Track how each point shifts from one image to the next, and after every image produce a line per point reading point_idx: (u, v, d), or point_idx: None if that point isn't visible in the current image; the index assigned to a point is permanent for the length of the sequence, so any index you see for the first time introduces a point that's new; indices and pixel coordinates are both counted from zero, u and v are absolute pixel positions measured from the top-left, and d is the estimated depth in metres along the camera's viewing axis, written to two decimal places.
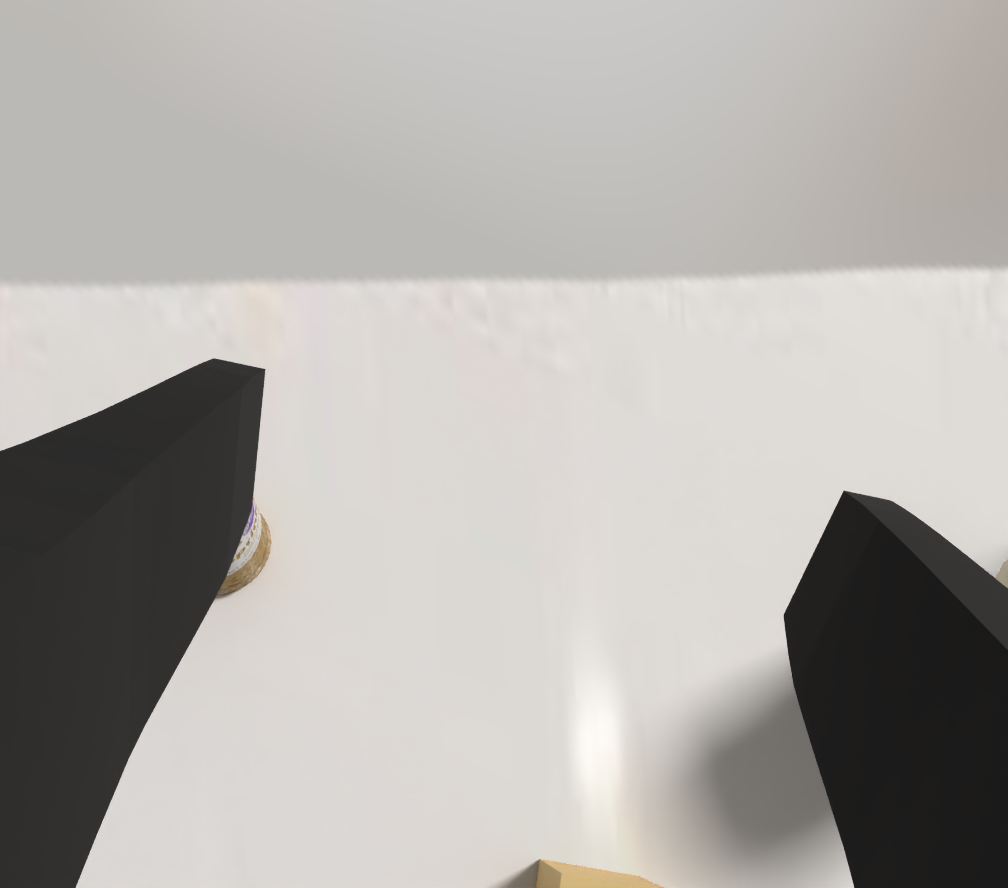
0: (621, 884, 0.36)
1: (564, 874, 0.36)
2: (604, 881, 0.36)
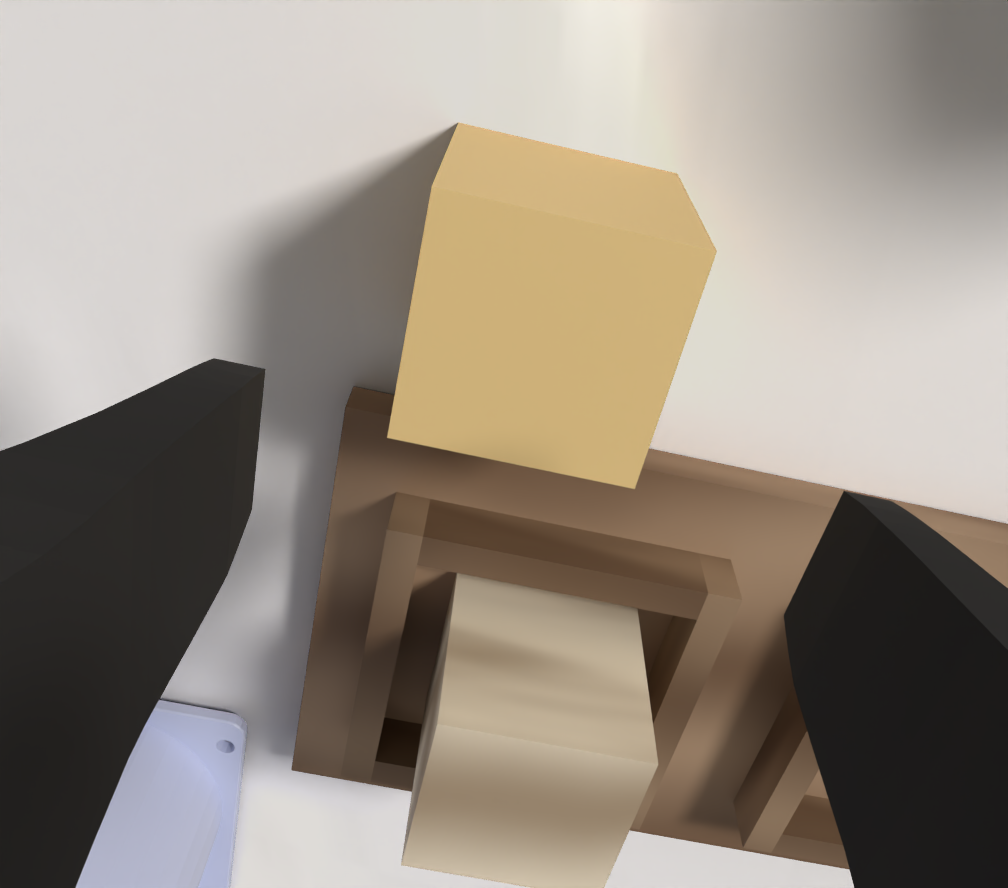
0: (583, 222, 0.14)
1: (439, 188, 0.14)
2: (541, 212, 0.14)
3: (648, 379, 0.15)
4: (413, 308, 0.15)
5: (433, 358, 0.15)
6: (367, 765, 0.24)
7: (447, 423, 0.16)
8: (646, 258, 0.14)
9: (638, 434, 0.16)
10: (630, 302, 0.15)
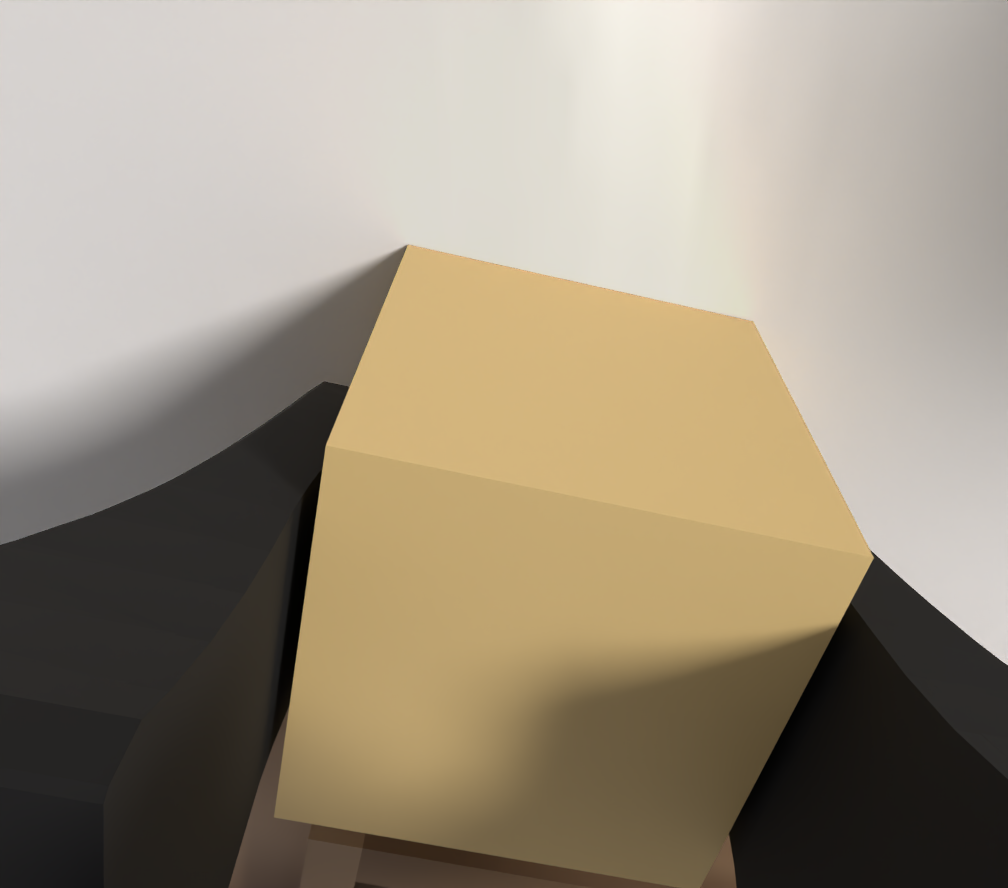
0: (621, 506, 0.07)
1: (342, 446, 0.07)
2: (539, 488, 0.07)
3: (731, 746, 0.09)
4: (305, 635, 0.08)
5: (348, 710, 0.09)
6: None
7: (376, 800, 0.09)
8: (739, 566, 0.08)
9: (708, 820, 0.09)
10: (704, 634, 0.08)
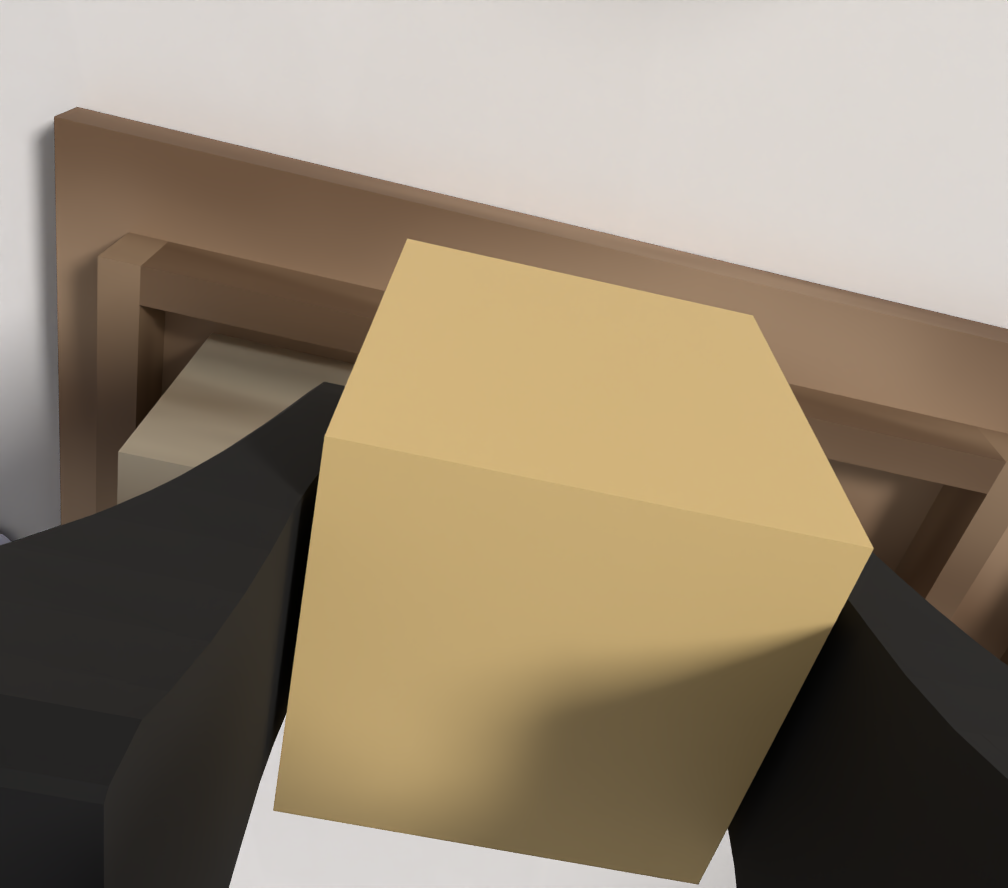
0: (620, 497, 0.07)
1: (341, 438, 0.07)
2: (538, 479, 0.07)
3: (730, 738, 0.09)
4: (304, 628, 0.08)
5: (346, 703, 0.09)
6: None
7: (376, 793, 0.09)
8: (738, 558, 0.08)
9: (708, 813, 0.09)
10: (702, 626, 0.08)
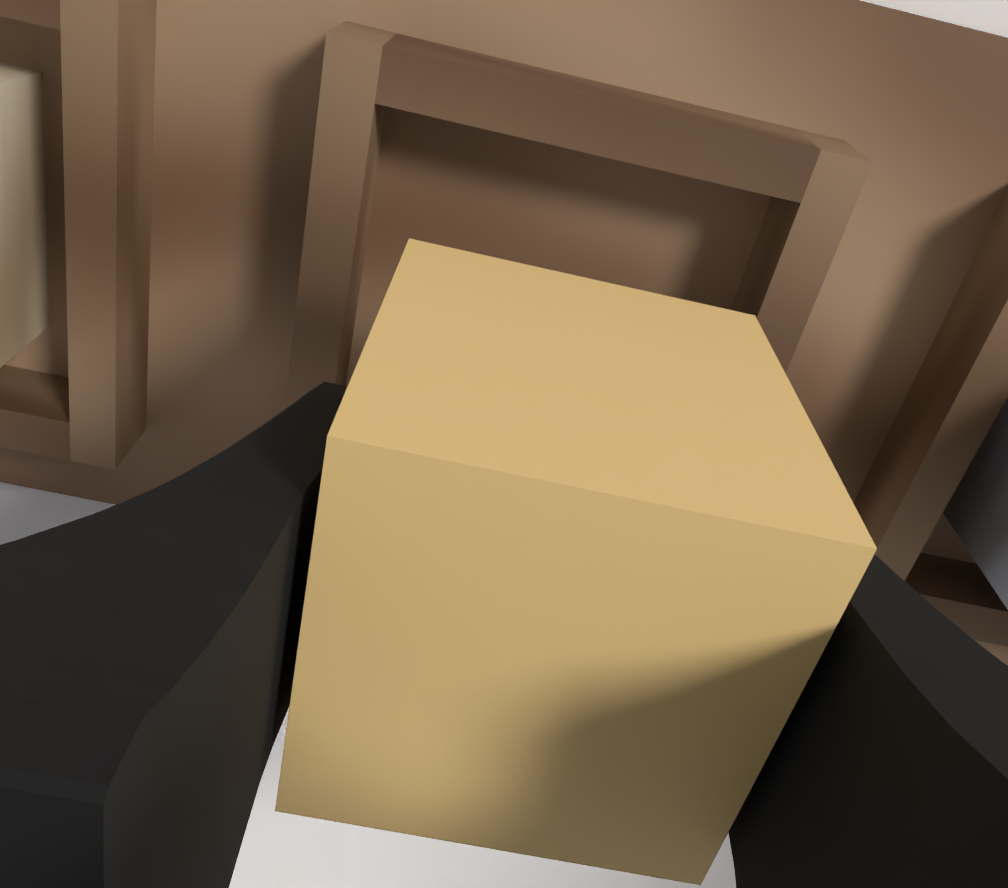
0: (623, 497, 0.07)
1: (343, 437, 0.07)
2: (541, 479, 0.07)
3: (733, 738, 0.09)
4: (306, 628, 0.08)
5: (348, 702, 0.09)
6: None
7: (377, 793, 0.09)
8: (742, 557, 0.08)
9: (711, 813, 0.09)
10: (705, 627, 0.08)
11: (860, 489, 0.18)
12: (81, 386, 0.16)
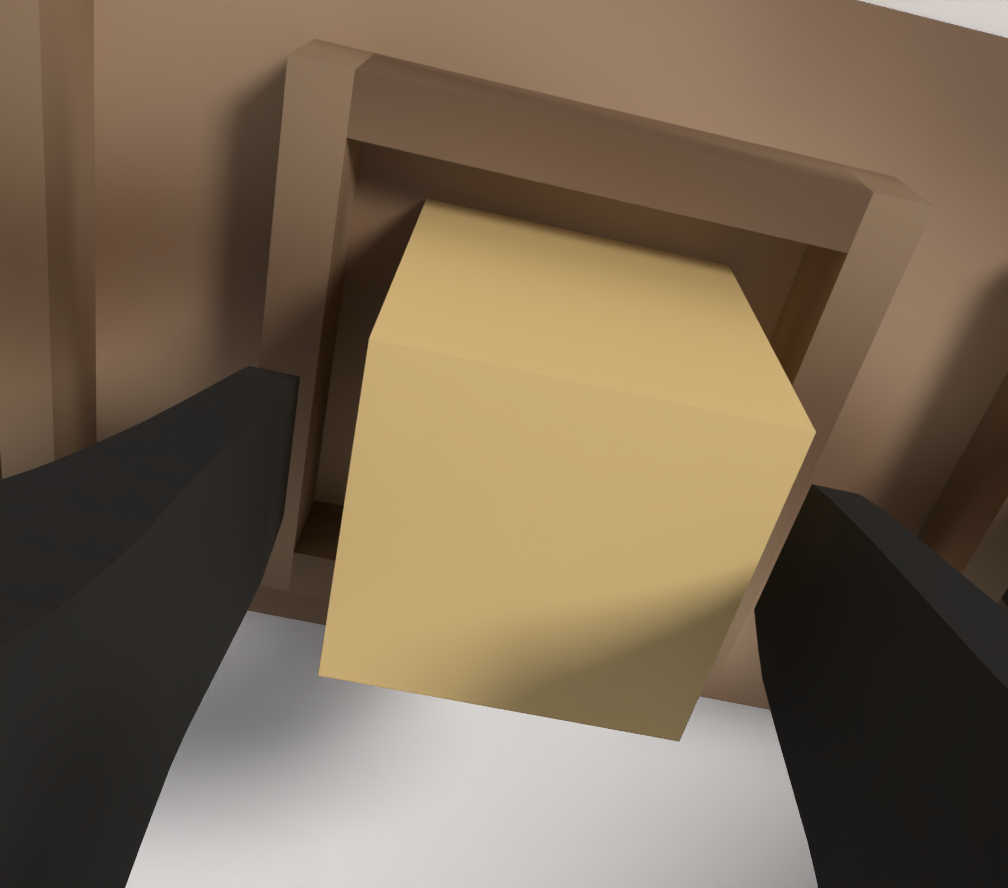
0: (609, 390, 0.09)
1: (382, 340, 0.09)
2: (542, 375, 0.09)
3: (703, 604, 0.10)
4: (349, 508, 0.10)
5: (382, 575, 0.10)
6: None
7: (405, 658, 0.11)
8: (705, 442, 0.09)
9: (686, 674, 0.11)
10: (678, 503, 0.10)
11: None
12: (15, 456, 0.14)
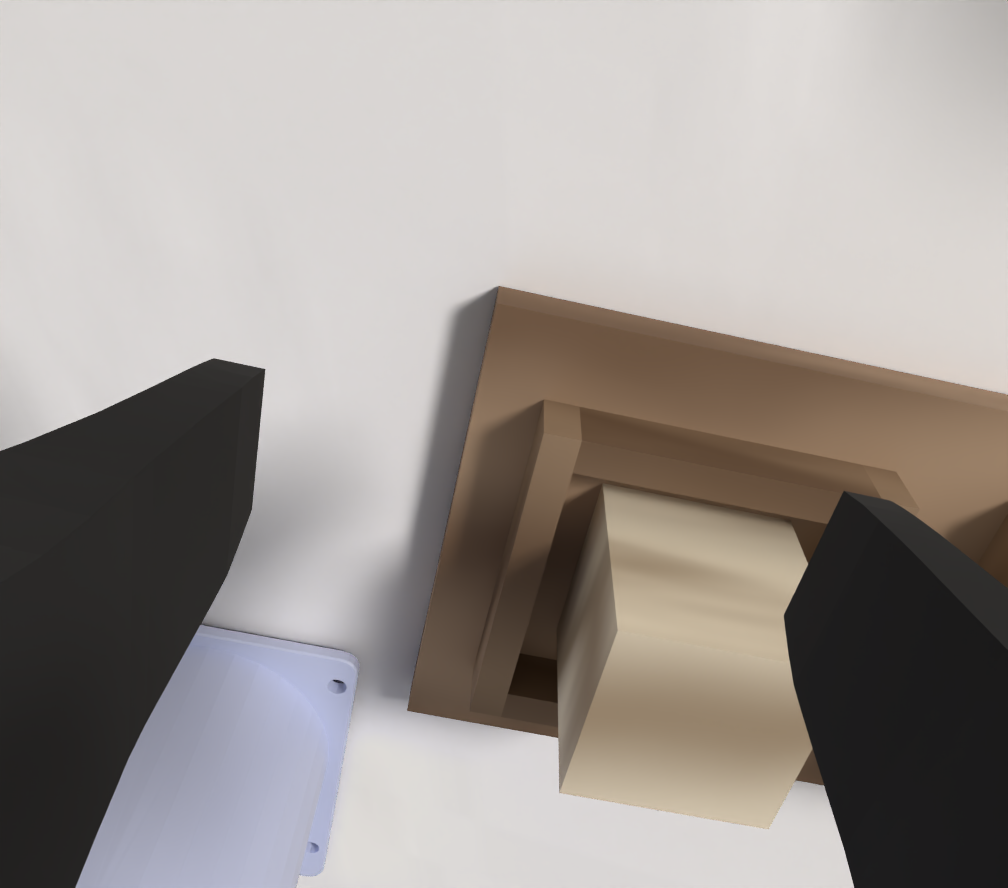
0: None
1: None
2: None
3: None
4: None
5: None
6: (499, 699, 0.23)
7: None
8: None
9: None
10: None
11: None
12: None
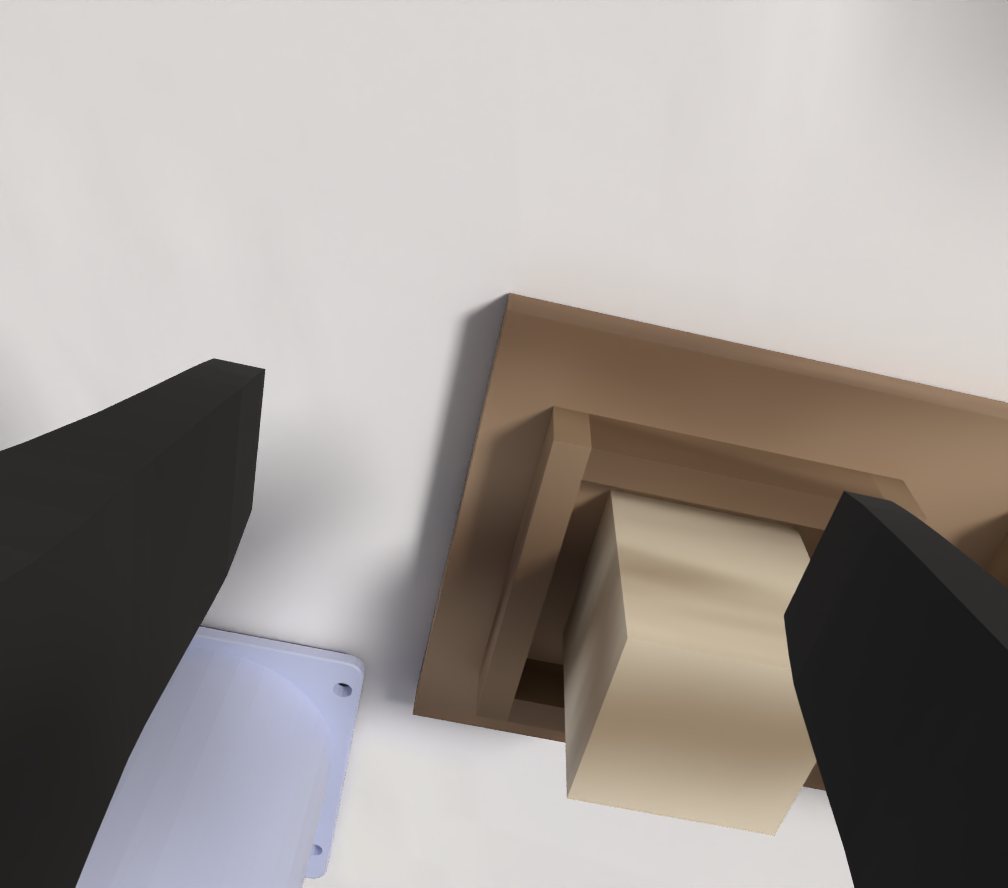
0: None
1: None
2: None
3: None
4: None
5: None
6: (505, 703, 0.23)
7: None
8: None
9: None
10: None
11: None
12: None
